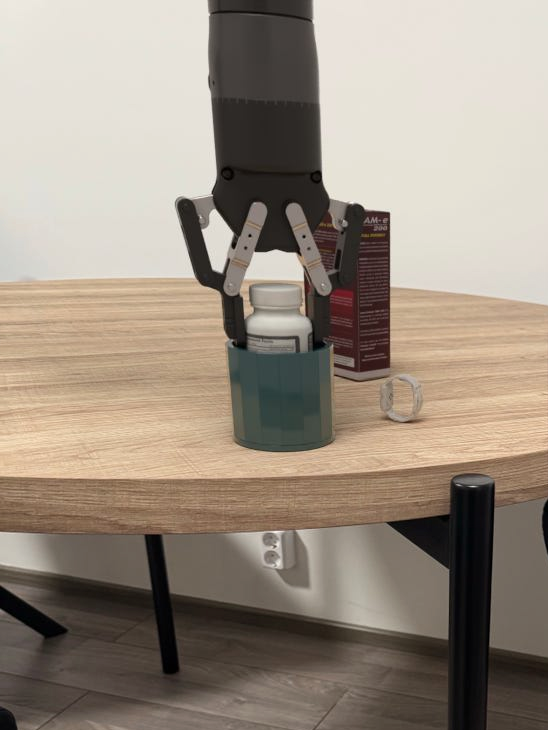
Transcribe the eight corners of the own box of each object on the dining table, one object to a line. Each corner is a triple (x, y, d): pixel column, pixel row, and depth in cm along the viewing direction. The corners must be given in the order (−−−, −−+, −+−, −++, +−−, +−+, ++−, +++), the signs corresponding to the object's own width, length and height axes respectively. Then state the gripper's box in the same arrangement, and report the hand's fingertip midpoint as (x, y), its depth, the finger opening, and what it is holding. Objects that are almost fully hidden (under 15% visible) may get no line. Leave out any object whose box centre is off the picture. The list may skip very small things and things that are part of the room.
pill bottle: (276, 401, 80) (269, 279, 75) (329, 411, 78) (325, 286, 73) (234, 414, 75) (224, 285, 71) (288, 425, 73) (282, 293, 69)
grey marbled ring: (425, 420, 84) (426, 374, 82) (417, 425, 82) (417, 379, 80) (388, 415, 85) (387, 370, 83) (379, 421, 83) (378, 375, 81)
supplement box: (393, 376, 99) (393, 210, 92) (358, 382, 96) (355, 211, 88) (339, 362, 104) (335, 204, 96) (304, 367, 101) (297, 204, 93)
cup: (240, 454, 73) (233, 355, 69) (226, 426, 79) (219, 334, 76) (345, 448, 75) (343, 352, 72) (322, 421, 82) (319, 332, 78)
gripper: (163, 87, 60) (189, 357, 68) (379, 101, 65) (380, 352, 73) (154, 90, 67) (179, 337, 75) (353, 103, 71) (356, 334, 79)
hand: (278, 343), depth 74 cm, fingers closed on pill bottle, 5 cm apart
